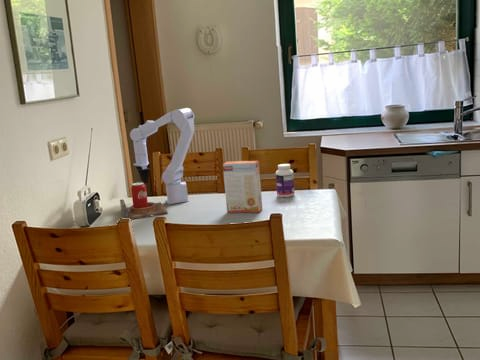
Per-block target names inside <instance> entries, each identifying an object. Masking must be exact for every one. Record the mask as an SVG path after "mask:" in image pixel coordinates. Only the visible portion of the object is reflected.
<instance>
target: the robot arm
mask: <svg viewBox="0 0 480 360" xmlns="http://www.w3.org/2000/svg"><path fill="white" fill-rule="evenodd" d="M168 123H174V124H175V126H176V127H177V128H178V129H179V130H180V132H181V133H180V136H179V139H178V141H177V144H176V147H175V150H174V152H173V155H172V158H171V161H170V163H169V164H168V166H166V169H165V170H164V171H163V172H162V174H161V180H162V181H163V183H164V184H165V190H166V191H165V192H166V199H165V202H166V203H167V205H174V204H180V203H186V202H189V195H188V188H187V183H186V181H182V179H183V176H184V166H183V165H184V164H183V163H184V161H185V159H186V156H187V154H188V151H189V147H190V144H191V142H192V140H193V136H194V135H195V131H196V130H195V113H194V112H193V111H192V109H191V108H189V107H183V108H179V109H174V110H173V111H169V112H168V113H166V114H164V115H162V116H161V117H159V118H158V119H156V120H148V119H147V120H146V121H145V123H144V124H142V125H141V124H139V125H138V126H137V128H133V129H131V131H130V132H129V137H130V140H132V141H133V149H134V157H135V158H134V159H135V163H134V162H133V166H135V168H136V170H137V172H138V175H139V177H140V181H141V182H143V183H144V185H146V184H148V183H149V177H150V175H149V174H150V172H151V168H149V164H150V162H149V157H148V148H147V138H148V137H150V136H151V135H153V134H155V133H157V132H158V130H159V128H160V127H162V126H164V125H166V124H168Z"/></svg>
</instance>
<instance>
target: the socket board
mask: <svg viewBox="0 0 480 360" xmlns="http://www.w3.org/2000/svg"><path fill="white" fill-rule="evenodd" d="M119 203H120V209H121V210H120V211H121V213H122V216H123V219H124V218H130V219H132V220H135V219H134V218H138V219H141V218H140V217H144V218H147V217H146V216H150V217H152V216H151V215H157V216H161V215H168V214H169V213H168V211H167V209H166V207H165V206H164V205H163V203H162V202H154V201H153V202H152V201H148V207H147V208H134V207H133V204H131V205H130V206H129V207H127V205H126V202H125V200H124V199H123V198H122V199H119Z"/></svg>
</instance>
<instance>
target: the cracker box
mask: <svg viewBox="0 0 480 360" xmlns="http://www.w3.org/2000/svg"><path fill="white" fill-rule="evenodd" d="M222 169H223V170H222V171H223V182H224V183H223V184H224V191H225V192H224V193H225V203H226V204H225V205H226V212H227V213H249V214H250V213H253V214H255V213H256V214H257V213H260V212H261V211H262V210H263V201H262V200H263V199H262V198H263V196H262V185H261V178H260V177H261V174H260V173H261V172H260V162H259V160H235V161H226V162H224V163H222Z"/></svg>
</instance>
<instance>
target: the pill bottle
mask: <svg viewBox="0 0 480 360" xmlns="http://www.w3.org/2000/svg"><path fill="white" fill-rule="evenodd" d="M294 179H295V177H294V171H293V169H291V164H290V163H280V164H278V165H277V170H276V171H275V185H276V196H277V197H279V198H282V197H286V198H291V197H290V196H292V197H294V196H295V180H294Z"/></svg>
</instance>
